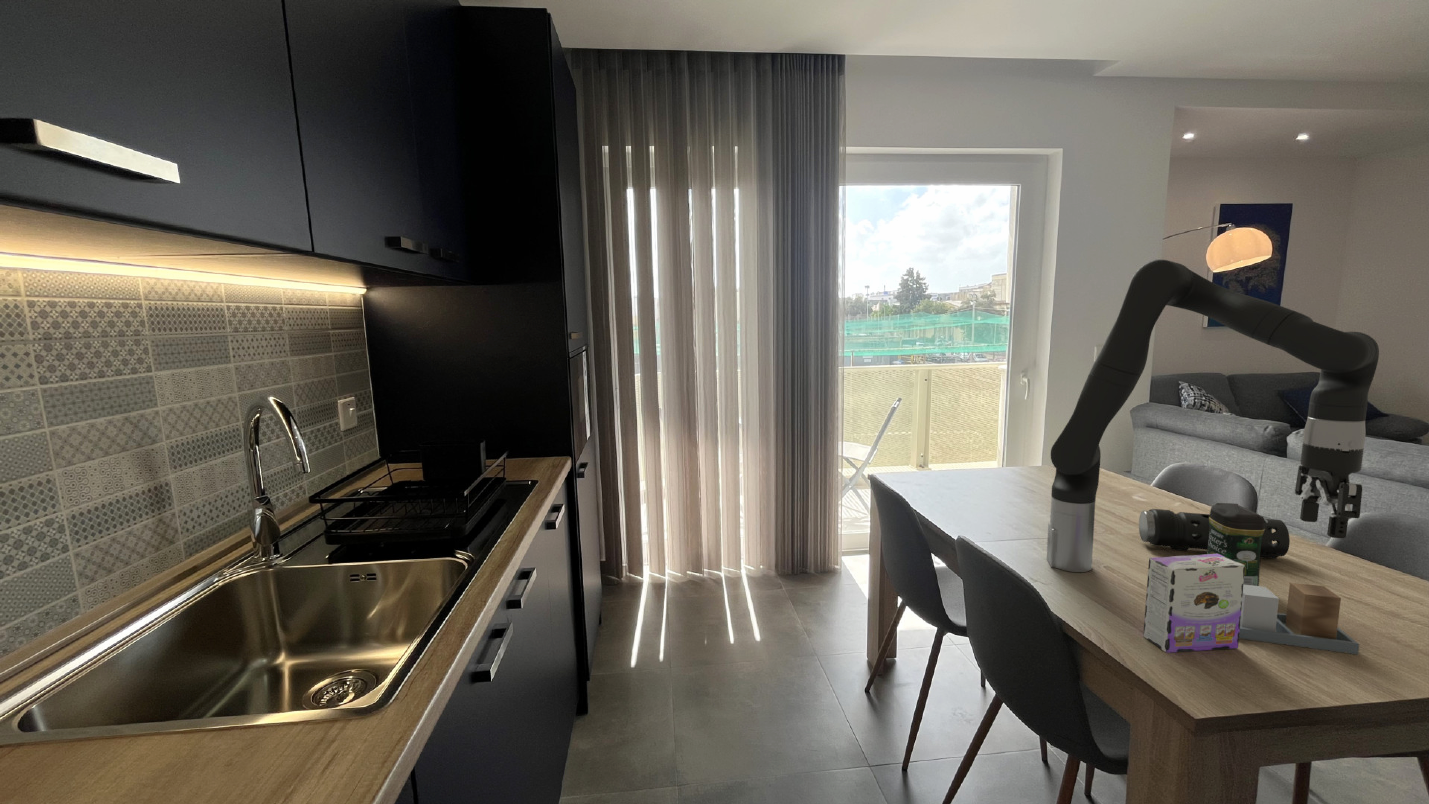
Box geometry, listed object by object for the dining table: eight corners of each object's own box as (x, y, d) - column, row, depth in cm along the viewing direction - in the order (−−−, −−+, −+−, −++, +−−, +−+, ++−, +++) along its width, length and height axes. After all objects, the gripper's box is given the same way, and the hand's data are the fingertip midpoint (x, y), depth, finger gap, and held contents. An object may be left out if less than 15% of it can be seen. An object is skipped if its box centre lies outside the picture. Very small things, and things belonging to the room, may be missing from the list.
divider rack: (1232, 637, 109) (1236, 598, 108) (1211, 614, 117) (1215, 577, 116) (1358, 654, 102) (1363, 612, 101) (1326, 628, 111) (1331, 589, 110)
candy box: (1210, 632, 111) (1218, 552, 109) (1239, 649, 105) (1247, 565, 103) (1141, 636, 110) (1147, 555, 108) (1166, 653, 105) (1173, 568, 102)
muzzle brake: (1288, 567, 138) (1292, 526, 136) (1146, 552, 148) (1149, 514, 147) (1268, 552, 146) (1272, 513, 145) (1136, 539, 157) (1139, 503, 156)
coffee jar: (1197, 575, 135) (1203, 499, 132) (1237, 577, 133) (1244, 500, 130) (1222, 594, 125) (1229, 513, 123) (1265, 597, 124) (1274, 514, 121)
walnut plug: (1299, 639, 107) (1304, 594, 106) (1285, 626, 111) (1289, 582, 110) (1335, 644, 105) (1341, 598, 104) (1318, 630, 110) (1324, 586, 108)
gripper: (1284, 434, 111) (1275, 514, 113) (1329, 450, 98) (1318, 540, 100) (1335, 436, 108) (1325, 518, 110) (1389, 453, 95) (1376, 546, 97)
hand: (1321, 529), depth 105 cm, fingers open, 8 cm apart
